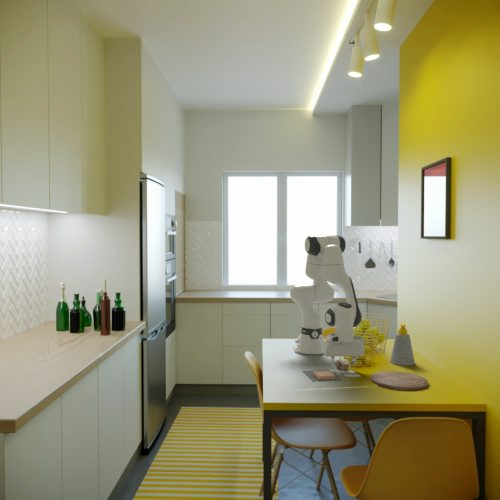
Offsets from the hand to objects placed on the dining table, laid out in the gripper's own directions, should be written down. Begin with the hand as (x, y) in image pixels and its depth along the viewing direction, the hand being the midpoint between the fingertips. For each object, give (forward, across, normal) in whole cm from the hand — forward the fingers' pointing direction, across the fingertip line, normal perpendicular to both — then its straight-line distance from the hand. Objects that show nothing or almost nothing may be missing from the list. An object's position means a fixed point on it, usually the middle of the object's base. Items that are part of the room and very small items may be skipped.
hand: (344, 364), depth 234 cm
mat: (+3, +14, +8) cm, 16 cm away
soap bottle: (+3, -37, -12) cm, 39 cm away
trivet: (+4, -18, +21) cm, 28 cm away
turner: (+3, 0, +3) cm, 4 cm away
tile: (+2, +14, +6) cm, 16 cm away
